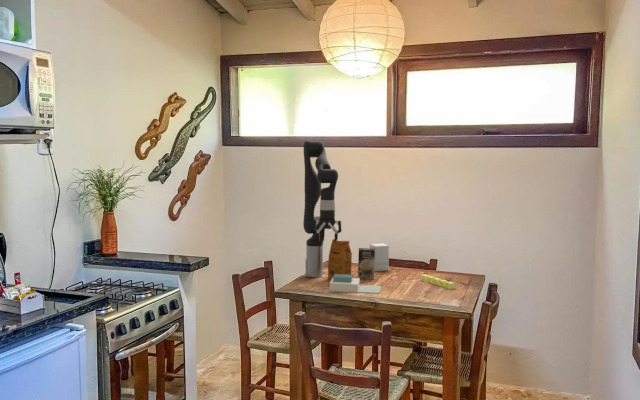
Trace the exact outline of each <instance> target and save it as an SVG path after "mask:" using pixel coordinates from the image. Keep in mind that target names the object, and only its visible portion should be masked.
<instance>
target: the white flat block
mask: <svg viewBox="0 0 640 400" xmlns="http://www.w3.org/2000/svg"><path fill="white" fill-rule="evenodd" d="M360 285H361V280H360V278H358V277H352V282H333V278H332V280H329V289H328V290H329V292H343V293H344V292H345V293H358V289H359V286H360Z"/></svg>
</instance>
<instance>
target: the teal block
mask: <svg viewBox="0 0 640 400" xmlns="http://www.w3.org/2000/svg"><path fill="white" fill-rule="evenodd" d="M352 278H353V274H351V275H344V274H335V275H334V277H333V282H352Z"/></svg>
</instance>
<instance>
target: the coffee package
mask: <svg viewBox="0 0 640 400" xmlns="http://www.w3.org/2000/svg"><path fill="white" fill-rule="evenodd" d="M352 257H353V254H352V250H351V247H350V241H349V240H338V239H337V240H336V241H335V238H332V241H331V244H330V248H329V254H328V260H327V261H328V262H327V280H328V281H331V280H332V278H333V277H334V275H335V274H344V275H352V261H353V260H352Z"/></svg>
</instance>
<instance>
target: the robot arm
mask: <svg viewBox="0 0 640 400" xmlns="http://www.w3.org/2000/svg"><path fill="white" fill-rule="evenodd" d="M312 158H314V159H315V158H316V159H315V162H314V165H315V168H316V170H317V172H316V171H315V168H314V167H313V164H312V161H311V159H312ZM303 164H304V212H303V230H304V232H305V233H306V234H308V235H312V236H311V237H309V238H308V239H307V240H306V249H305V251H306V252H305V253H306V256H305V277H310V278H320V277H323V274H324V273H323V270H324V264H323V263H324V254H323V253H324V241H325V233H326V231H325V230H326V229H328V230H332V231H333V232H334V239H335V241H336V240H337V241H338V239H339V238H338V236H339V234H340V233H342V220H341V219H340V220H336V219H335V217H336V214H335V213H336V203H335V190H336V187H337V183H338V180H339V173H338V171H337V169H334V168H333V169H332V168H331V164H330V162H329V161H328V158H327V152H326V148H325V145H324V142H323V141H321V140H306V141H304V142H303ZM322 184H329V186H327V187H322ZM319 199H320V201H319ZM318 202H320V203H319V215H318V216H317V215H316V216H315V209H316V206H317V203H318ZM335 224H336V226H337V227H338V228H336V227H335ZM337 229H338V230H337Z"/></svg>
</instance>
